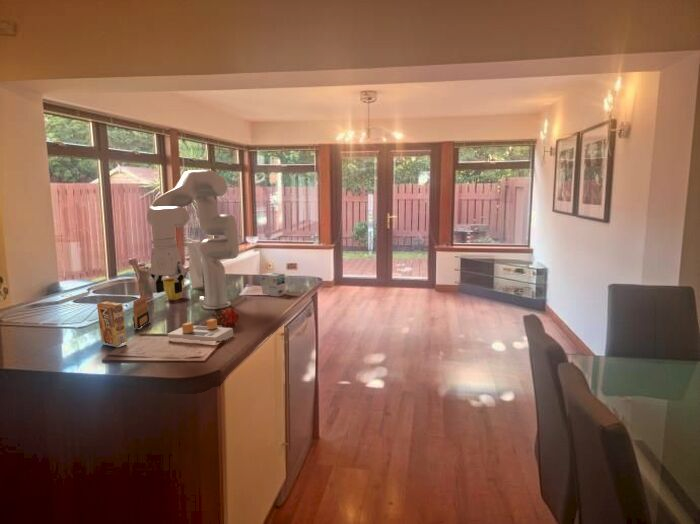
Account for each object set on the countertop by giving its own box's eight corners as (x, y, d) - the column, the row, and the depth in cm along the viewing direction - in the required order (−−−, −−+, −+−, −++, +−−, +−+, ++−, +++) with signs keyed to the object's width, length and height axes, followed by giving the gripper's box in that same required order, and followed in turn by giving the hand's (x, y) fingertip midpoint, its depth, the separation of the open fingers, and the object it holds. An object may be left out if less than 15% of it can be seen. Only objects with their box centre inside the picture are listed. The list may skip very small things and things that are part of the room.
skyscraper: (190, 289, 261) (186, 238, 256) (189, 287, 268) (184, 237, 264) (206, 288, 264) (202, 237, 260) (204, 285, 271) (200, 236, 267)
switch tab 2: (207, 328, 175) (206, 321, 174) (211, 326, 178) (211, 318, 177) (212, 329, 174) (212, 321, 174) (217, 326, 177) (216, 319, 177)
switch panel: (168, 341, 172) (167, 333, 172) (187, 332, 183) (186, 324, 182) (216, 345, 166) (215, 337, 166) (233, 336, 177) (232, 327, 176)
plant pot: (181, 300, 236) (179, 281, 235) (160, 301, 236) (158, 281, 235) (188, 295, 246) (186, 277, 245) (168, 296, 247) (166, 277, 245)
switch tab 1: (182, 332, 171) (182, 324, 171) (188, 330, 174) (187, 322, 173) (188, 333, 170) (187, 325, 170) (193, 330, 173) (192, 322, 173)
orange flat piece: (138, 330, 188) (135, 300, 186) (134, 330, 188) (130, 300, 186) (149, 322, 199) (147, 294, 197) (145, 322, 199) (142, 294, 197)
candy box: (127, 345, 170) (123, 303, 168) (117, 348, 167) (112, 306, 164) (111, 341, 175) (107, 300, 172) (101, 345, 171) (96, 303, 168)
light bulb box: (286, 294, 243) (285, 273, 241) (277, 297, 238) (276, 275, 236) (270, 292, 249) (269, 271, 247) (261, 294, 243) (260, 274, 241)
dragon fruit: (218, 336, 183) (233, 331, 194) (235, 323, 181) (248, 319, 193) (206, 317, 184) (221, 313, 195) (222, 305, 182) (237, 301, 194)
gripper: (137, 244, 168) (142, 293, 171) (178, 244, 163) (183, 295, 166) (151, 241, 175) (156, 289, 178) (192, 242, 170) (196, 290, 173)
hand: (169, 291), depth 172 cm, fingers open, 7 cm apart
